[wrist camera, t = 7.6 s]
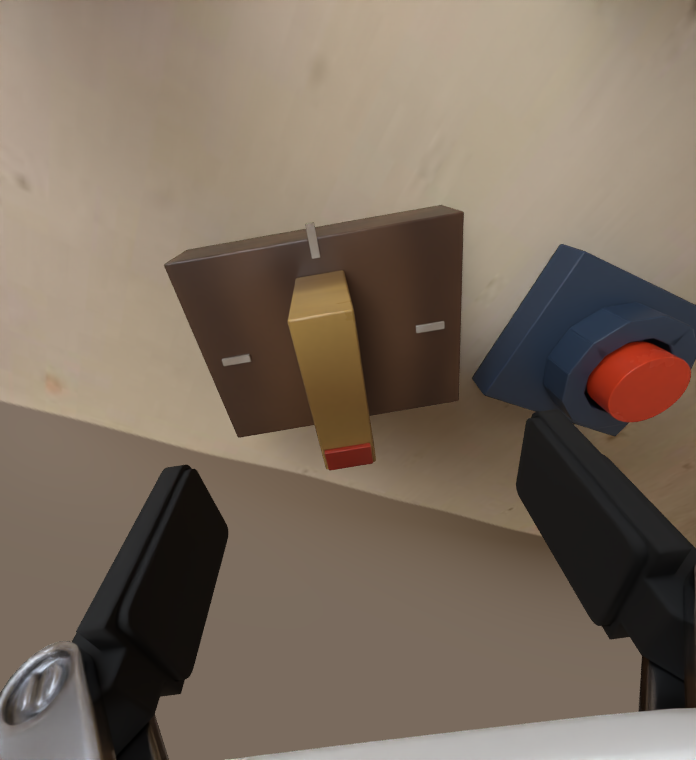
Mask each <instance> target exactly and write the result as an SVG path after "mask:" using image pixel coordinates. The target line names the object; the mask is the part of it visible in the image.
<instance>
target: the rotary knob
mask: <svg viewBox="0 0 696 760" xmlns="http://www.w3.org/2000/svg"><path fill="white" fill-rule="evenodd" d="M288 326H289V329H290V333H291V337H292V341H293V345H294V348H295V352H296V356H297V360H298V364H299V367H300V371H301V375H302V379H303V383H304V387H305V390H306V394H307V398H308V402H309V406H310V409H311V413H312V417H313V421H314V425H315V428H316V432H317V436H318V440H319V444H320V447H321V451H322V455H323V459H324V463H325V466H326V469H329V470H336V469H342V468H348V467H354V466H360V465H366V464H372V463H373V462H375V461H376V456H375V449H374V442H373V436H372V429H371V422H370V416H369V409H368V402H367V395H366V389H365V382H364V375H363V368H362V362H361V355H360V348H359V341H358V335H357V328H356V321H355V314H354V309H353V305H352V301H351V297H350V293H349V289H348V285H347V281H346V277H345V273H344V271H343V270H341V271H335V272H329V273H323V274H318V275H312V276H306V277H300V278H296V280H295V286H294V291H293V296H292V301H291V306H290V312H289V317H288Z"/></svg>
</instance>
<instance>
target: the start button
mask: <svg viewBox="0 0 696 760" xmlns="http://www.w3.org/2000/svg"><path fill="white" fill-rule="evenodd" d="M690 378H691V370H690V367H689V365H688V364H687V362H685V361H684V360H683V359H681V358H679V357H677V356H675V355H673V354H671V353H670V352H668V351H666V350H664V349H662V348H660V347H658V346H656V345H654V344H653V343H649V342H632V343H628V344H625V345H624V346H622V347H620V348H618V349H617V350H615V351H613V352H612V353H610V354H608V355H607V356H605V357H604V358H603V359H602V361H601V362H600V363H599V364H598V365H597V367H596V368H595V369H594V370H593V371H592V372H591V374H590V375H589V377H588V381H587V392H588V395H589V396H590V398H591V399H592V400H593V401H595V402H596V403H597V404H598V405H599V406H600V407H602V408H603V409H604V410H605V411H606V412H608V413H609V414H610V415H611V416H612V417H613V418H615V419H617V420H619V421H623V422H638V421H643V420H646V419H649V418H652V417H654V416H656V415H658V414H660V413H662V412H663V411H665V410H666V409H668V408H669V407H670V406H672V405H673V404H674V403H675V402H676V401H677V400H678V399H679V398H680V397H681V396H682V394H683V393H684V392H685V390H686V388H687V386H688V384H689V382H690Z"/></svg>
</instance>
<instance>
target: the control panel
mask: <svg viewBox="0 0 696 760" xmlns="http://www.w3.org/2000/svg"><path fill="white" fill-rule="evenodd" d="M463 221H464V213H463V212H462V211H459V210H456V209H453V208H450V207H446V206H443V205H438V206H433V207H427V208H421V209H416V210H410V211H404V212H399V213H393V214H387V215H382V216H376V217H370V218H365V219H359V220H353V221H348V222H342V223H336V224H331V225H325V226H320V227H315V226H314V222H312V223H306V224H305V226H306V229H303V230H297V231H291V232H286V233H280V234H274V235H269V236H263V237H257V238H252V239H246V240H240V241H235V242H229V243H223V244H218V245H212V246H206V247H201V248H195V249H189V250H186V251H184V252H183V253H181V254H180V255H178V256H177V257H175V258H173V259H172V260H170V261H169V262H167V263H166V264H164V266H165V269H166V271H167V273H168V276H169V278H170V280H171V283H172V285H173V287H174V290H175V292H176V294H177V297H178V299H179V301H180V304H181V306H182V308H183V311H184V313H185V315H186V318H187V320H188V322H189V325H190V327H191V329H192V331H193V334H194V336H195V338H196V341H197V343H198V345H199V348H200V350H201V352H202V355H203V357H204V359H205V362H206V364H207V366H208V369H209V371H210V373H211V376H212V378H213V380H214V383H215V385H216V387H217V390H218V392H219V394H220V397H221V399H222V401H223V404H224V406H225V408H226V411H227V413H228V415H229V418H230V420H231V422H232V424H233V427H234V429H235V431H236V434H237V436H238V437H245V436H251V435H257V434H263V433H269V432H275V431H281V430H287V429H293V428H299V427H305V426H311V425H314V421H313V417H312V413H311V409H310V406H309V402H308V398H307V394H306V390H305V387H304V383H303V379H302V375H301V371H300V367H299V364H298V360H297V356H296V352H295V348H294V345H293V341H292V337H291V333H290V329H289V326H288V317H289V312H290V306H291V301H292V296H293V291H294V286H295V280H296V278H300V277H306V276H312V275H318V274H323V273H329V272H335V271H341V270H343V271H344V273H345V277H346V281H347V285H348V289H349V293H350V297H351V301H352V305H353V309H354V314H355V321H356V328H357V335H358V341H359V348H360V355H361V362H362V368H363V375H364V382H365V389H366V395H367V402H368V409H369V416H371V415H377V414H383V413H389V412H395V411H401V410H407V409H413V408H419V407H425V406H431V405H437V404H443V403H449V402H454V401H458V400H459V369H460V332H461V295H462V258H463Z"/></svg>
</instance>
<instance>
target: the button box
mask: <svg viewBox="0 0 696 760" xmlns="http://www.w3.org/2000/svg"><path fill="white" fill-rule="evenodd" d="M632 342H649V343H653V344H654V345H656V346H658V347H660V348H662V349H664V350H666V351H668V352H670V353H671V354H673V355H675V356H677V357H679V358H681V359H683V360H684V361H685V362H687V364H688V365H689V367H690V370H691V368H692V366H693V364H694V362H695V359H696V305H695V304H693V303H690V302H688V301H686V300H684V299H682V298H680V297H678V296H676V295H674V294H672V293H670V292H668V291H666V290H664V289H662V288H660V287H657V286H655V285H653V284H651V283H649V282H647V281H645V280H643V279H641V278H639V277H637V276H635V275H633V274H631V273H629V272H627V271H625V270H622V269H620V268H618V267H616V266H614V265H612V264H610V263H608V262H606V261H604V260H602V259H600V258H598V257H596V256H594V255H592V254H590V253H587V252H585V251H583V250H579V249H576V248H573V247H570V246H567V245H564V244H561V245H560V246H559V247H558V249H557V250H556V252H555V253H554V255H553V256H552V258H551V259H550V261H549V262H548V264H547V265H546V267H545V268H544V270H543V271H542V273H541V275H540V276H539V278H538V279H537V281H536V282H535V284H534V285H533V287H532V288H531V290H530V291H529V293H528V294H527V296H526V297H525V299H524V300H523V302H522V303H521V305H520V306H519V308H518V309H517V311H516V312H515V314H514V315H513V317H512V318H511V320H510V321H509V323H508V325H507V326H506V328H505V329H504V331H503V332H502V334H501V335H500V337H499V338H498V340H497V341H496V343H495V344H494V346H493V347H492V349H491V350H490V352H489V353H488V355H487V356H486V358H485V359H484V361H483V362H482V364H481V365H480V367H479V368H478V370H477V372H476V373H475V375H474V376H473V378H472V379H473V381H474V382H475V384H476V385H477V386H478V388H479V389H480V390H481V392H482V393H483V395H485V396H488V397H491V398H494V399H498V400H501V401H504V402H507V403H510V404H514V405H517V406H520V407H523V408H526V409H529V410H533V411H536V412H539V411H545V410H552V409H558V410H560V411H561V412H562V413H563V414H564V415H565V416H566V417H567V418H568V419H569V420H570V421H571V422H572V423H574V424H577V425H580V426H583V427H587V428H590V429H593V430H596V431H599V432H602V433H606V434H609V435H612V436H616V435H617V434H618V433H619V432H620V431H621V430H622V429H623V428H624V427H625V426H626V425H627V424H628V423H629V422H623V421H619V420H617V419H615V418H613V417H612V416H611V415H610V414H609V413H608V412H606V411H605V410H604V409H603V408H602V407H600V406H599V405H598V404H597V403H596V402H595V401H593V400H592V399H591V398H590V396H589V395H588V392H587V381H588V377H589V375H590V374H591V372H592V371H593V370H594V369H595V368H596V367H597V365H598V364H599V363H600V362H601V361H602V359H603V358H604V357H605V356H607V355H608V354H610V353H612V352H613V351H615V350H617V349H618V348H620V347H622V346H624V345H625V344H628V343H632Z"/></svg>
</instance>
